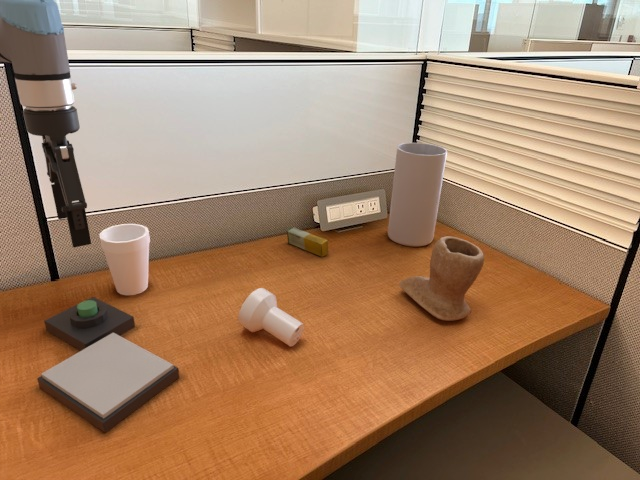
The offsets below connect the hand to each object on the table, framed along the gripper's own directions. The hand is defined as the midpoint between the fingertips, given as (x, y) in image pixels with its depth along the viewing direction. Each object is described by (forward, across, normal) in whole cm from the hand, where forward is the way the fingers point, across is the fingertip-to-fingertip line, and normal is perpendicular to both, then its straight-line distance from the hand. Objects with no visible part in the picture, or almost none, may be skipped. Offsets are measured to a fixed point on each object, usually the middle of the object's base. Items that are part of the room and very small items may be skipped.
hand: (73, 230), depth 84 cm
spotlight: (+19, -22, -27) cm, 40 cm away
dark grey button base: (+19, -3, +1) cm, 19 cm away
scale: (+19, -20, +1) cm, 27 cm away
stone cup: (+19, -32, -62) cm, 73 cm away
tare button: (+15, -3, +1) cm, 15 cm away
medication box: (+19, +4, -53) cm, 56 cm away
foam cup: (+19, +8, -10) cm, 23 cm away
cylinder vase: (+19, -4, -81) cm, 84 cm away
